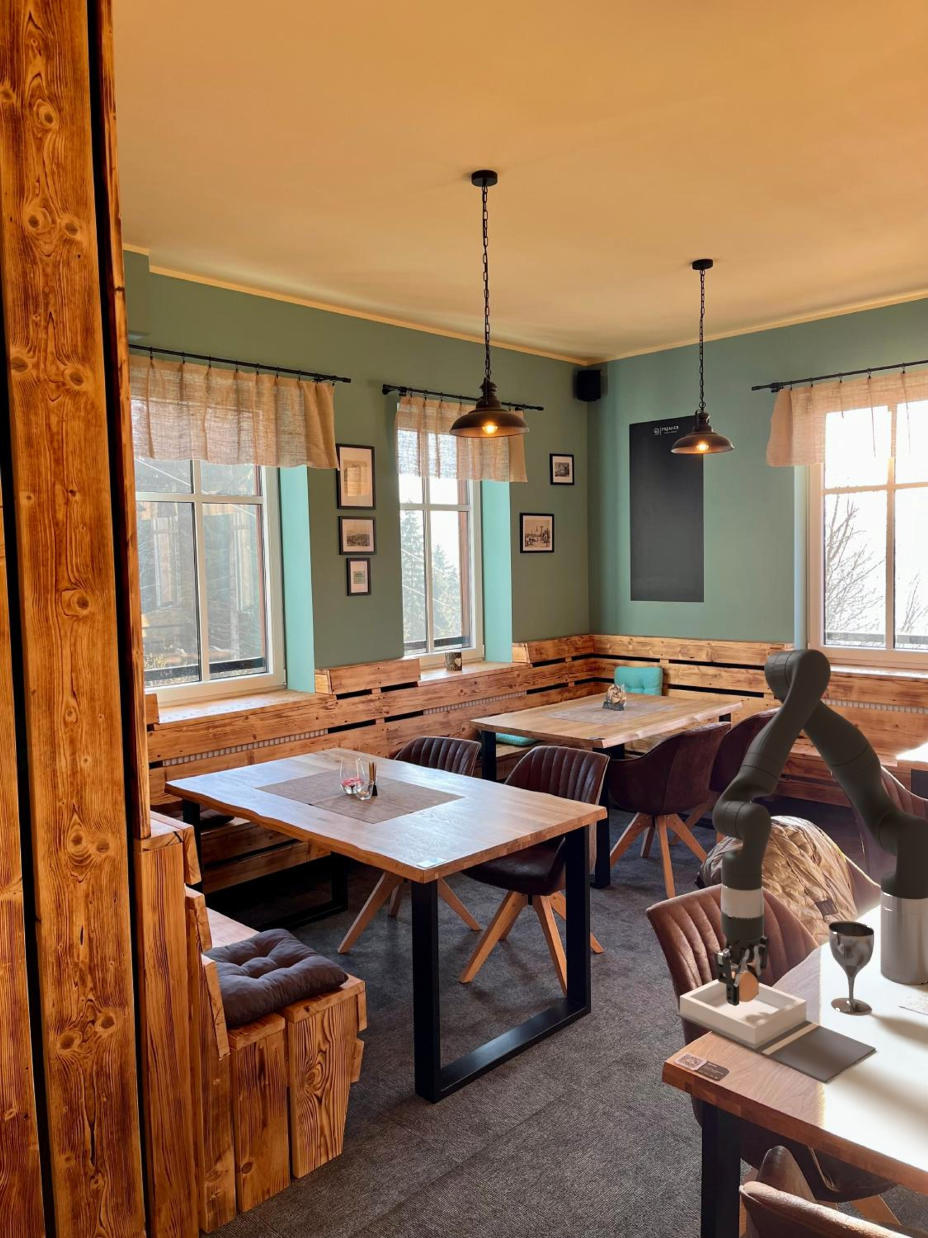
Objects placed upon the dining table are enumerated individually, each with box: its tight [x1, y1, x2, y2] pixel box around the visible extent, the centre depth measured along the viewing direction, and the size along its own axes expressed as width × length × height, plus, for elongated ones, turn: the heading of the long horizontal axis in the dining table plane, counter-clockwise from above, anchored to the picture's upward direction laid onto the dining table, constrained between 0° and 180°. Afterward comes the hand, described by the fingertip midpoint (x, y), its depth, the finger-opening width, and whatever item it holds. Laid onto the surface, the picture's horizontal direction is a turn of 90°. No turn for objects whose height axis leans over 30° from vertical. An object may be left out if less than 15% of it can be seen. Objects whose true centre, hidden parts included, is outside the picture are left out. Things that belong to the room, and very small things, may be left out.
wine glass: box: [828, 920, 875, 1016], centre depth 172 cm, size 8×8×15 cm
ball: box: [732, 969, 759, 1002], centre depth 167 cm, size 6×6×6 cm
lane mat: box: [675, 1011, 876, 1084], centre depth 163 cm, size 16×30×1 cm, turn 38°
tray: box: [679, 978, 807, 1049], centre depth 168 cm, size 16×16×4 cm
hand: (742, 999), depth 167 cm, fingers closed on ball, 5 cm apart
